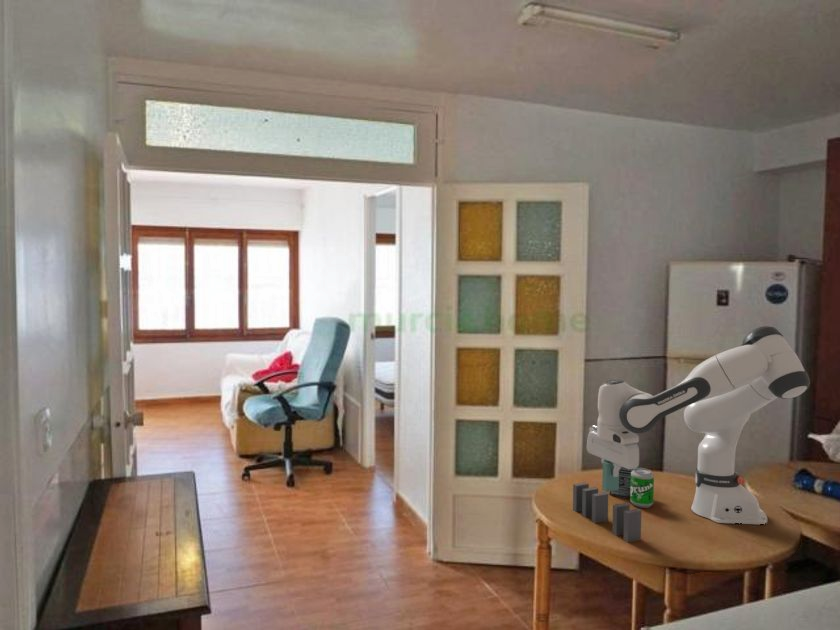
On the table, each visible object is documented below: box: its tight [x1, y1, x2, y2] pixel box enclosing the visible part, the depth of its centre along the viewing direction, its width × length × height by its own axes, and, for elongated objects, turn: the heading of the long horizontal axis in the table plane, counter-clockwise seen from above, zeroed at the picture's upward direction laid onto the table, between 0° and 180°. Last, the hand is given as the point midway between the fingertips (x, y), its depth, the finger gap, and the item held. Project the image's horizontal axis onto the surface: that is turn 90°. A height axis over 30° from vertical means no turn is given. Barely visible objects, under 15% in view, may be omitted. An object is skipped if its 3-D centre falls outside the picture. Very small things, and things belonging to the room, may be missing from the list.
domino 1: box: [572, 482, 590, 513], centre depth 205 cm, size 2×5×9 cm, turn 112°
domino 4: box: [601, 461, 619, 493], centre depth 190 cm, size 2×5×9 cm, turn 114°
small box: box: [608, 466, 644, 500], centre depth 218 cm, size 11×6×10 cm, turn 58°
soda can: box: [629, 467, 655, 509], centre depth 209 cm, size 8×8×12 cm
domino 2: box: [581, 486, 599, 518], centre depth 200 cm, size 2×5×9 cm, turn 112°
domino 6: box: [623, 508, 642, 543], centre depth 181 cm, size 2×5×9 cm, turn 112°
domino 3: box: [591, 491, 609, 524], centre depth 195 cm, size 2×5×9 cm, turn 112°
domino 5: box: [612, 502, 631, 537], centre depth 186 cm, size 2×5×9 cm, turn 112°
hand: (611, 474), depth 190 cm, fingers closed on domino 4, 2 cm apart
